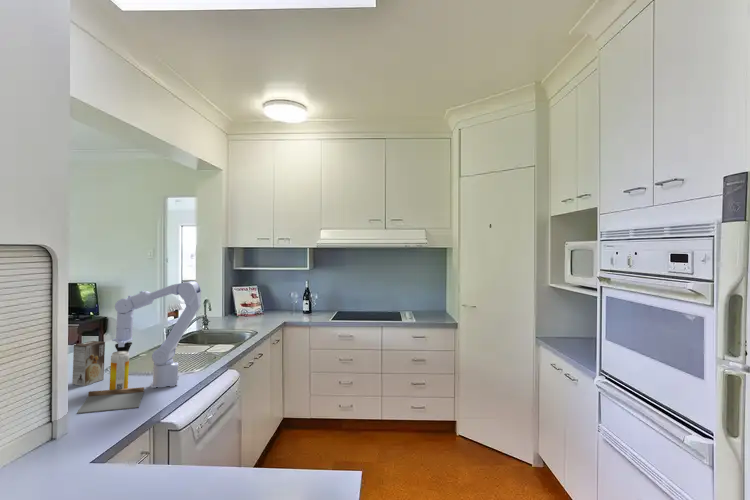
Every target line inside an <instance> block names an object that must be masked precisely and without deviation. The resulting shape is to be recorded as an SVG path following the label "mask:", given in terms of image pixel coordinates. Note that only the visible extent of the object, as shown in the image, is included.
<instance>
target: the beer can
mask: <svg viewBox="0 0 750 500" xmlns="http://www.w3.org/2000/svg"><path fill="white" fill-rule="evenodd" d="M129 370H130V353H129V352H128V351H118V352H117V351H114V352H112V354H111V356H110V371H109V373H110V374H109V389H108V390H115V389H128V388H129V373H130V371H129Z"/></svg>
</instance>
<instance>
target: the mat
mask: <svg viewBox="0 0 750 500" xmlns="http://www.w3.org/2000/svg"><path fill="white" fill-rule="evenodd" d="M144 393H145V391H144V392H135V393H123V394H111V395H99V396H88V395H87V397H86V399H85V401H84V402H83V403H82V404H81V406H80V407H79V409H78V411H77V412H76V415H79V414H80V415H81V414H90V413H99V412H111V411H119V410H121V411H122V410H131V409H132V410H133V409H139V408H140V404H141V402H142V399H143V396H144Z"/></svg>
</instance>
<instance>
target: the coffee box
mask: <svg viewBox="0 0 750 500" xmlns="http://www.w3.org/2000/svg"><path fill="white" fill-rule="evenodd" d="M105 349H106V341H100V340H90V341H87V342H82V343H77V344H74V345H73V354H72V355H73V359H72V360H73V361H72V379H71V381H72V382H71V384H72V385H73V384H75V386H82V387H84V386H85V387H86V386H89V385H91V384H94V383H97V382H100V381H103V380H104V376H105V375H104V374H105V354H106V353H105Z"/></svg>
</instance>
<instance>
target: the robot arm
mask: <svg viewBox="0 0 750 500" xmlns="http://www.w3.org/2000/svg"><path fill="white" fill-rule="evenodd" d="M201 293H202V289H201V287H200V285H199V283H198V282H197V281H194V280H190V281H184V282H180V283H175V284H171V285H167V286H165V287H163V288H160V289H157V290H155V291H152V292H151V291H148V290H141V291H139V293H137V294H134V295H131V294H130V295H127V297H126V298H120V299H119V300H117V301H116V302H115V305H114V308H115V311H116V326H115V328H116V331H115V338H112V340H111V341H112V342H115V343H116V344H114V348H115V349H116V352H118V351H128V353H129V351H130V349H131V346H132V345H133V342H132V341H133V340H134V339H133V338H134V337H133V330H134V329H133V328H134V327H133V326H134V312H135V310H138V309H141V308H143V307H146V306H150V305H152V304H153V302H154V301H155V300H157V299H160V298H163V297H166V296H170V295H175V296H180V298H181V299H182V300H183V301H184V304H185V308H184V309H183V311H182V313H181V314H180V316H179V317H178V319H177V320H176V321H175V322H176V323H174V326H173V327H172V329H171V331H170V332H169V333H168V335H167V337H166V339H165V340H164V341H163V342H162V343H161V344H160V346H159V347H158V349H156V350H154V351H153V353H152V355H151V360H152V362H153V370H152V374H153V375H152V381H151V385H150V388H151V389H155V388H156V387H158V388H166V387H165V386H170V387H176V386H175V385H177V386H178V381H179V377H180V376H179V374H178V373H179V362H177V361H176V362H174V359H173V358H174V357H175V355H176V349H177V348H178V345H179V342H180V341H181V339H182V337H183V335H184V334H185V332H186V330H187V329H188V328H189V326H190V324H191V323H192V321H193V319H194V318H195V316H196V314H197V312H198V311H199V309H200V308H201V304H202V303H201V297H202V295H201ZM156 389H157V388H156Z"/></svg>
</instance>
